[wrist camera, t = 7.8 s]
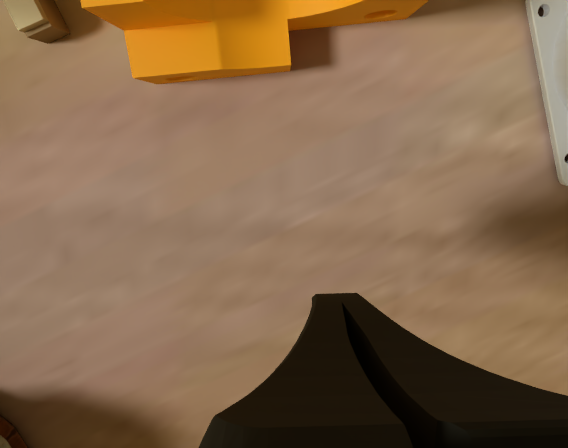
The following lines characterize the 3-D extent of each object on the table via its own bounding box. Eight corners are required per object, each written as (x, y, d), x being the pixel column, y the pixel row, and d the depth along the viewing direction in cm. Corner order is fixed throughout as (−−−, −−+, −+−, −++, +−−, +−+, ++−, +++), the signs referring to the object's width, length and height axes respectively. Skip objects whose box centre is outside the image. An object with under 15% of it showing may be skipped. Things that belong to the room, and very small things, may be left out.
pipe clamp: (157, 84, 18) (94, 68, 12) (140, -17, 17) (60, -91, 11) (404, 60, 18) (467, 30, 12) (403, -44, 17) (474, -136, 11)
